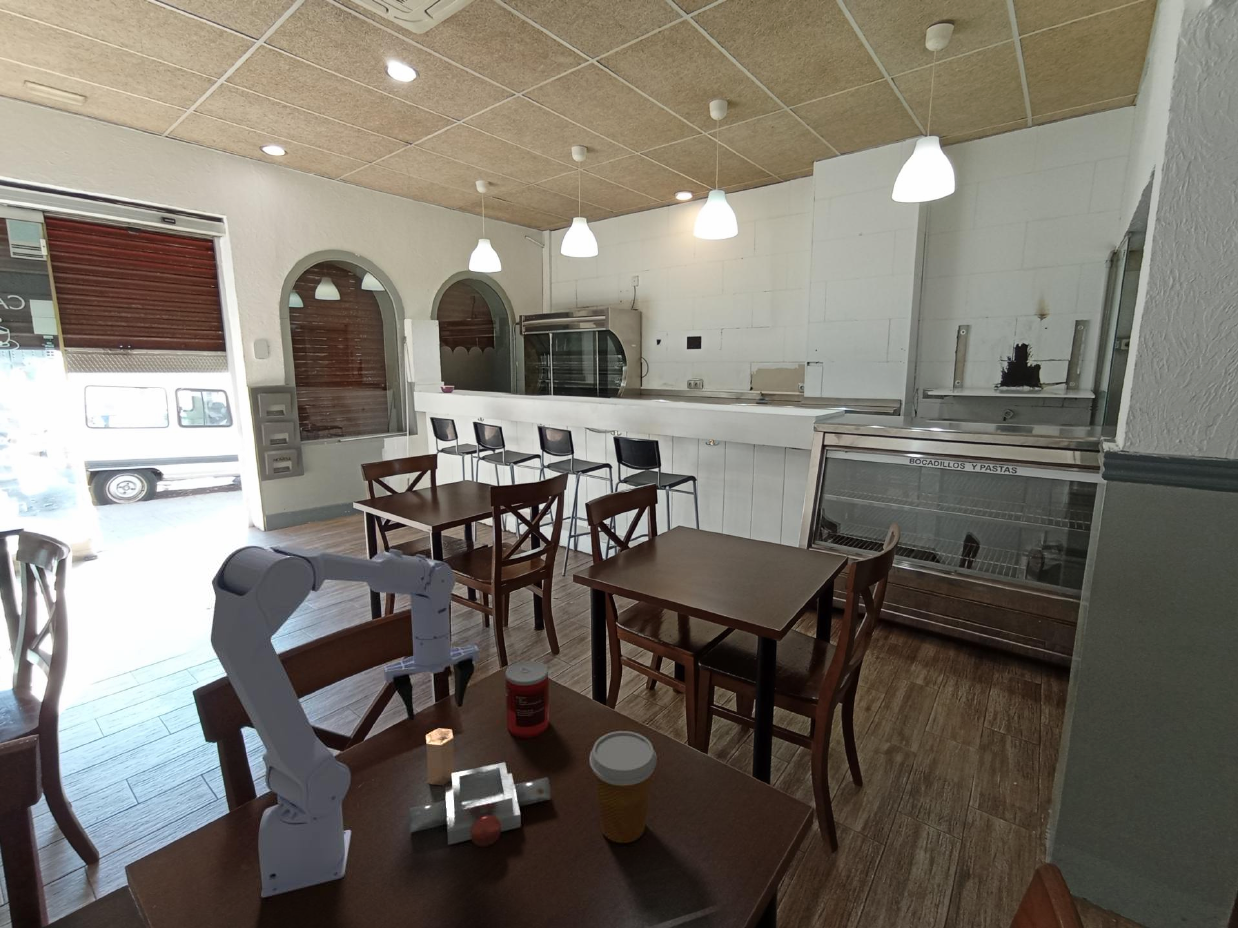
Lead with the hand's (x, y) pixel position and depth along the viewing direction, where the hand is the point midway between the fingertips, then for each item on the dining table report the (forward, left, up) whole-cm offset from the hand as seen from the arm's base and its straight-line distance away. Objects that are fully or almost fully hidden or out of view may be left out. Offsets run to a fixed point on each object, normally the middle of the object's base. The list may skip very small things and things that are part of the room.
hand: (435, 710), depth 92 cm
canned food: (+16, +6, -10) cm, 20 cm away
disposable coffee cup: (+25, -22, -10) cm, 35 cm away
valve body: (+6, -13, -10) cm, 17 cm away
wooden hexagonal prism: (+1, -3, -10) cm, 10 cm away
